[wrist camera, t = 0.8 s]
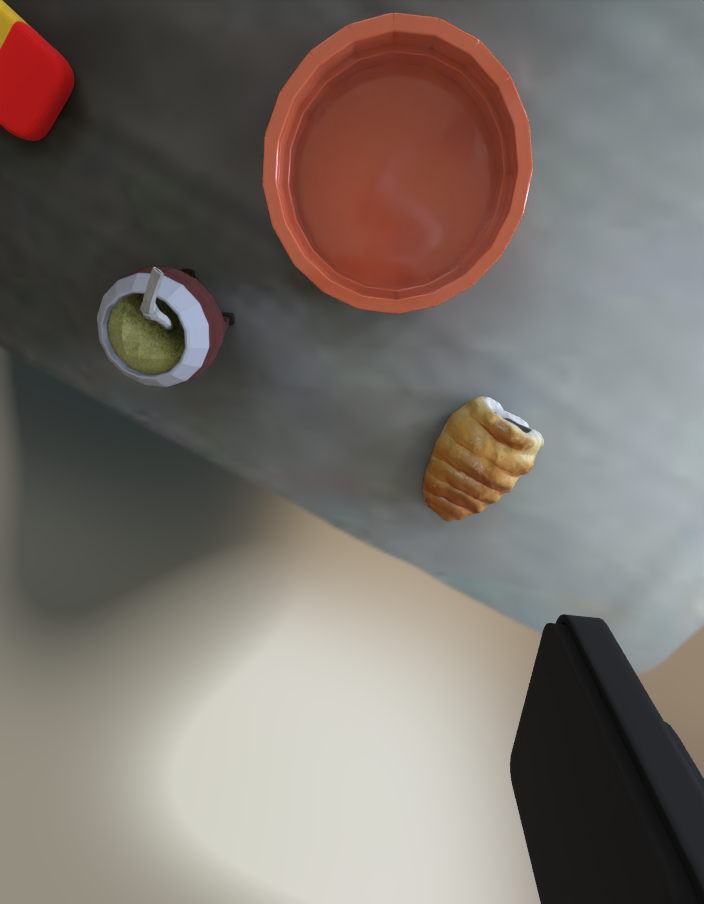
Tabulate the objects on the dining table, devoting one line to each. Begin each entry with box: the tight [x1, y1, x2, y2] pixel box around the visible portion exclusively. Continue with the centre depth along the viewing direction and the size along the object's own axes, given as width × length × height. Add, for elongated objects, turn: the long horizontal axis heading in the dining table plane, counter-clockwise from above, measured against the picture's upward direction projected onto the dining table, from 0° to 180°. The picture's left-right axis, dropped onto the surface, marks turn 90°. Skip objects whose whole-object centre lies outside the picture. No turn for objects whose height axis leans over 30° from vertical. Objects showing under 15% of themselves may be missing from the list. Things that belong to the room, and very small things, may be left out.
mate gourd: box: [97, 267, 234, 387], centre depth 32 cm, size 8×8×15 cm
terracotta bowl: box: [262, 12, 533, 314], centre depth 33 cm, size 15×15×5 cm
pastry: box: [422, 396, 544, 521], centre depth 40 cm, size 9×7×4 cm
